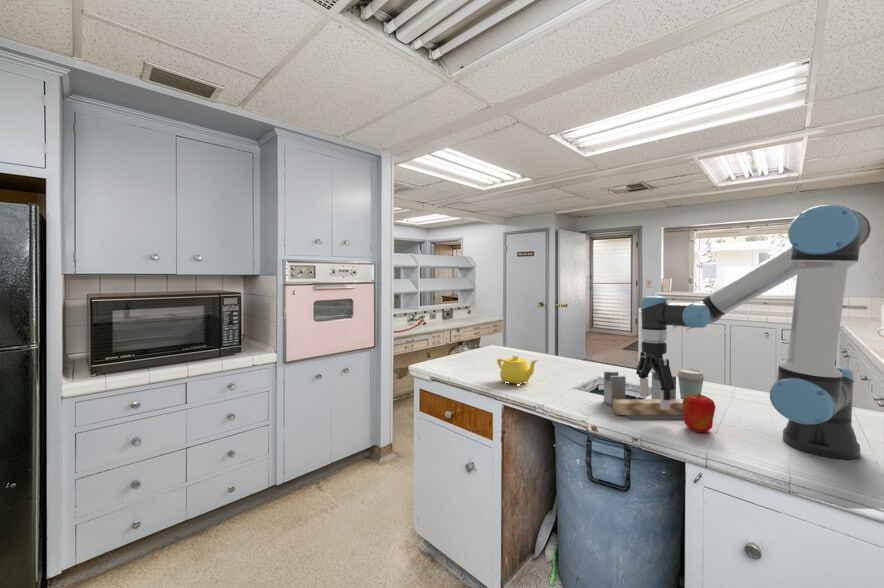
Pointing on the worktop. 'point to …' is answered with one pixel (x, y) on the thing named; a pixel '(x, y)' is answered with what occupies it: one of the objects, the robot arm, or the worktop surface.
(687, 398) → the apple
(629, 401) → the rail
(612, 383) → the rack
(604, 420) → the worktop surface
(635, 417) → the mat
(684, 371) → the coffee cup
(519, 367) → the teapot
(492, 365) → the worktop surface
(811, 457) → the worktop surface
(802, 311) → the robot arm
